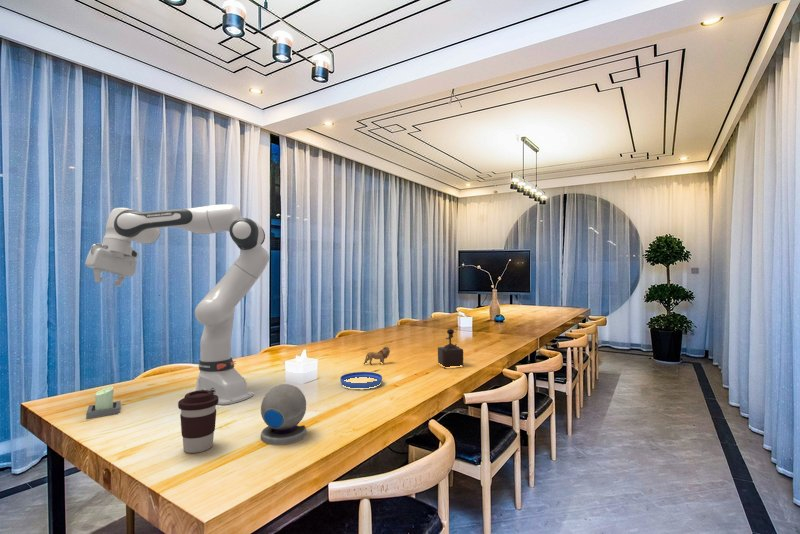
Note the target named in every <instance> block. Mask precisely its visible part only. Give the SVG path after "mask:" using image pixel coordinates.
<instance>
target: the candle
mask: <svg viewBox="0 0 800 534" xmlns="http://www.w3.org/2000/svg"><path fill="white" fill-rule="evenodd" d="M94 397H95V399H94V400H95V401H94V405H95V411H96V410H103V409H109V408H113V402H114V387H113V386H108V387H104V388H103V389H100V390H98V391H97V392H95V395H94Z"/></svg>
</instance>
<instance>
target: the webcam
mask: <svg viewBox="0 0 800 534" xmlns="http://www.w3.org/2000/svg"><path fill="white" fill-rule="evenodd" d="M306 410H307V400H306V396H305V394H304V392H303V391H302V390H301V389H300V388H298V387H297V386H295V385H292V384H287V383H285V384H279V385H277V386H274V387H272V388H271V389H270V390H269V391H267V393H265V395H264V397H263V399H262V401H261V405H260V415H261V418H262V419H263V422H264V423H265V424H266V425H267V426H266V427H264V428H263V429H262V430H261V432H260V441H262V442H263V443H265V444H268V445H273V446H274V445H275V446H280V445H281V446H283V445H288V444H293V443H296V442H299V441H302V439H304V438H305V437H306V436H307V427H306V426H305V425H298V424H300V423H301V421H302V420H303V419H304V416H305V415H306V412H307V411H306Z"/></svg>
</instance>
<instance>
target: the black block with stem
mask: <svg viewBox="0 0 800 534" xmlns="http://www.w3.org/2000/svg"><path fill="white" fill-rule="evenodd" d="M446 333H447V334H448V337H445V340H448V344H446V345H444V346H439V347H438V346H437V364H438V363H440V364H442V365H443V366H445V367H450V366H460V365H463V366H464V349H463V348H460V346H457V343H455V344H453V343H452V339H453V338H454V335H453V334H454V333H455V330H454V329H453V328H449V329H447V331H446Z"/></svg>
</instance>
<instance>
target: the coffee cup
mask: <svg viewBox="0 0 800 534" xmlns="http://www.w3.org/2000/svg"><path fill="white" fill-rule="evenodd" d="M177 405H178V406H177V407H178V409H179V410H180V430H181V437H182V443H183V444H182V446H183V451H184V452H185V453H188V454H197V453H203V452H205V451H208V450H210V449H211V448H212V447H213V445H214V433H215V430H216V421H217V405H219V404H218V396H217V395H214V394H213V392H212V391H209V390H198V391H196V390H194V391H190V392H188V393H185V395H184V397H183V398H181V399H179V401H178V403H177Z"/></svg>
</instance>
